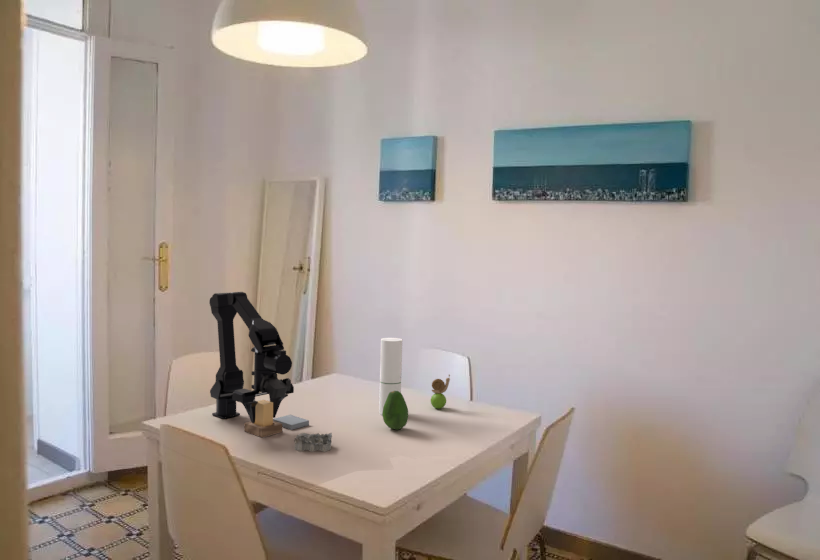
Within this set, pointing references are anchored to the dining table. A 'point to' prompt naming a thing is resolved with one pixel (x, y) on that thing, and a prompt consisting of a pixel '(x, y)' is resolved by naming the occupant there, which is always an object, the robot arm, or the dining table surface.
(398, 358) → the cylindrical container
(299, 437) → the egg carton
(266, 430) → the brown square frame
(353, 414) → the dining table surface
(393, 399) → the avocado
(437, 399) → the snail figurine
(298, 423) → the grey rubber mat
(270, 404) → the amber plug
